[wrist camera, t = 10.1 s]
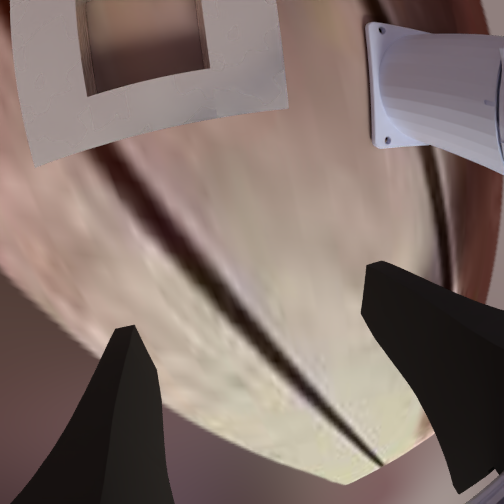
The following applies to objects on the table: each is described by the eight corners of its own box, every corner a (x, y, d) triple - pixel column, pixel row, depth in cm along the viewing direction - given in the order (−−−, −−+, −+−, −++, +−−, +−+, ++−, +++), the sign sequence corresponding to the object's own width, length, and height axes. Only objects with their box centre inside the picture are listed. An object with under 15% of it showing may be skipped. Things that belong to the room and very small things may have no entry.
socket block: (251, -58, 10) (263, -74, 8) (273, 105, 15) (288, 108, 13) (26, -9, 8) (10, -19, 6) (50, 157, 13) (35, 167, 11)
